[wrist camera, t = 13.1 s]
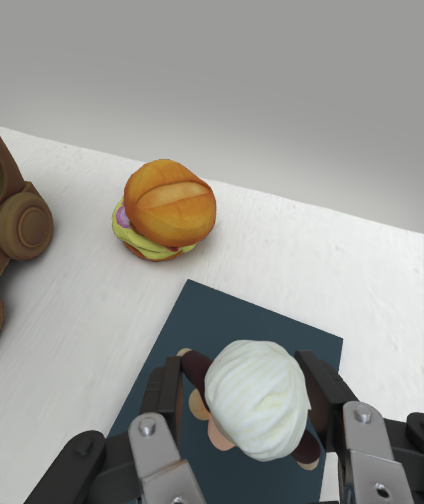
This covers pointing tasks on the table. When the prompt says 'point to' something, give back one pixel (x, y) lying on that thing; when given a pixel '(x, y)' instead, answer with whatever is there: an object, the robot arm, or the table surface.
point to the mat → (196, 431)
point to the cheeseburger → (164, 211)
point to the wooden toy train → (20, 216)
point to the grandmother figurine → (253, 401)
